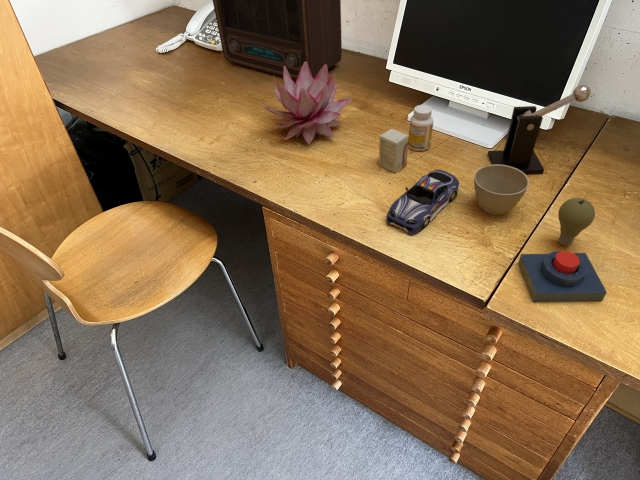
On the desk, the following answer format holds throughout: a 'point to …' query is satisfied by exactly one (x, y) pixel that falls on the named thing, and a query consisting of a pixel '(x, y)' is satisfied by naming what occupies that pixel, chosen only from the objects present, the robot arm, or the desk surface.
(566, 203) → the light bulb
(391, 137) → the small box
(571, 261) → the button
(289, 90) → the decorative flower
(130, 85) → the desk surface
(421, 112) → the supplement bottle
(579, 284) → the control block
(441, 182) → the toy car
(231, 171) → the desk surface
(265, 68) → the radio
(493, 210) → the beige bowl
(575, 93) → the grey rod with ball
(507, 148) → the black lever stand
